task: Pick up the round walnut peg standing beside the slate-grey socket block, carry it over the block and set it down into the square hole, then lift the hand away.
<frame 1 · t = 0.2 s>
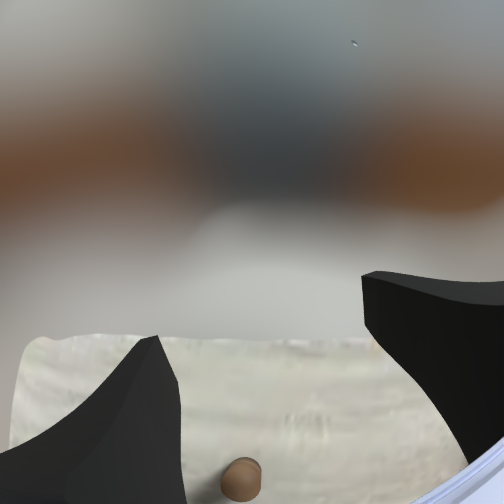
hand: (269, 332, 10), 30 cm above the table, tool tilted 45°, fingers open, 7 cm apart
peg: (245, 471, 32), on the table
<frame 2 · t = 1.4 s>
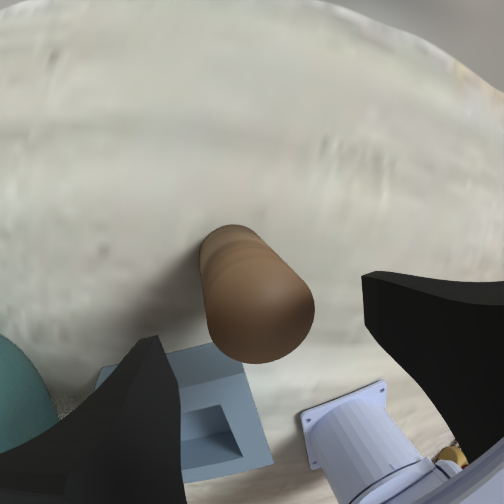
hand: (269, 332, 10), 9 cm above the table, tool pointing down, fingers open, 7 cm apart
socket: (187, 404, 21), on the table
peg: (232, 257, 19), on the table
teal bowl: (2, 373, 18), on the table
kendama: (457, 438, 33), on the table
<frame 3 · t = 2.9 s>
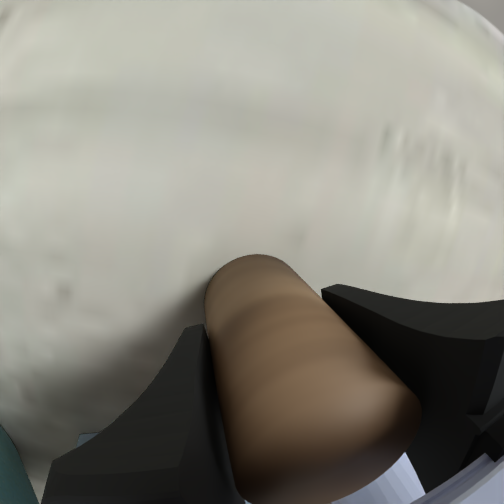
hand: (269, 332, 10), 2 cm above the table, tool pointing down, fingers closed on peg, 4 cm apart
peg: (254, 302, 13), on the table, touching gripper
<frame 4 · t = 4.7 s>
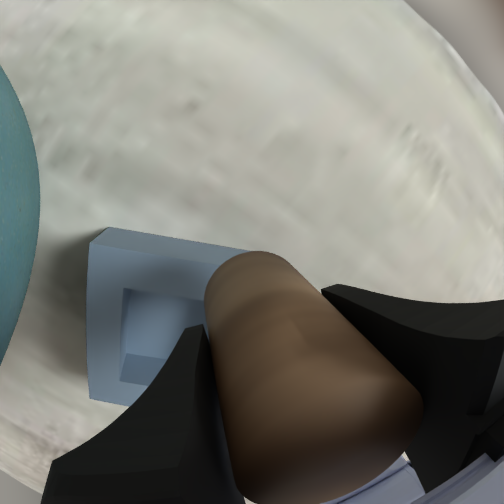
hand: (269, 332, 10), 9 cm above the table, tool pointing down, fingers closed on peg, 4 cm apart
socket: (175, 313, 19), on the table
peg: (254, 299, 13), point 7 cm above the table, touching gripper
when the fingers open (5 cm above the table, at t = 6.8 s): peg drops 2 cm, resting on socket.
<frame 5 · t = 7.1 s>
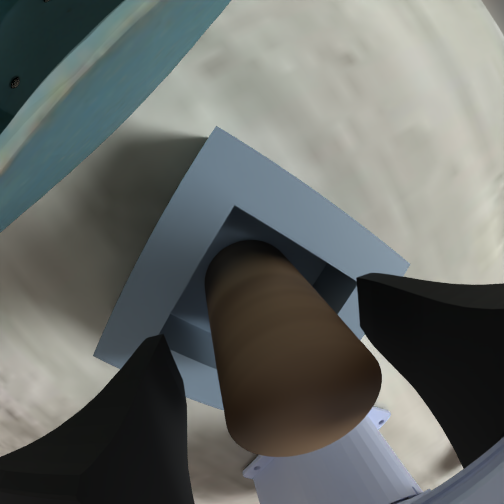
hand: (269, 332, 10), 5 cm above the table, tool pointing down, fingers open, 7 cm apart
socket: (242, 277, 15), on the table
peg: (248, 282, 14), point 1 cm above the table, touching socket
teal bowl: (54, 40, 11), on the table
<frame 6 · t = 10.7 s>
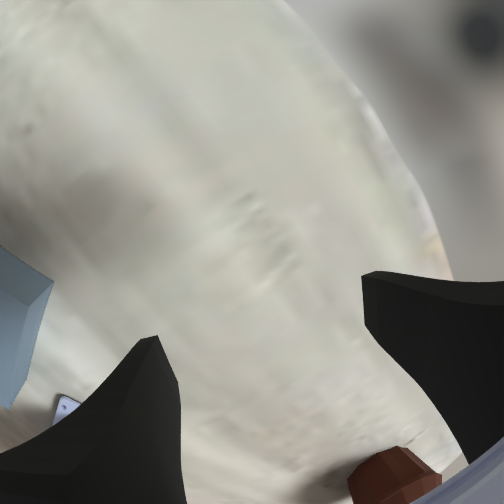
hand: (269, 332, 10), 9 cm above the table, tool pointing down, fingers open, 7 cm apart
muffin: (377, 467, 30), on the table
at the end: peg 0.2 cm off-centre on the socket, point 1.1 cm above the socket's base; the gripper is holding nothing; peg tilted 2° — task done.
